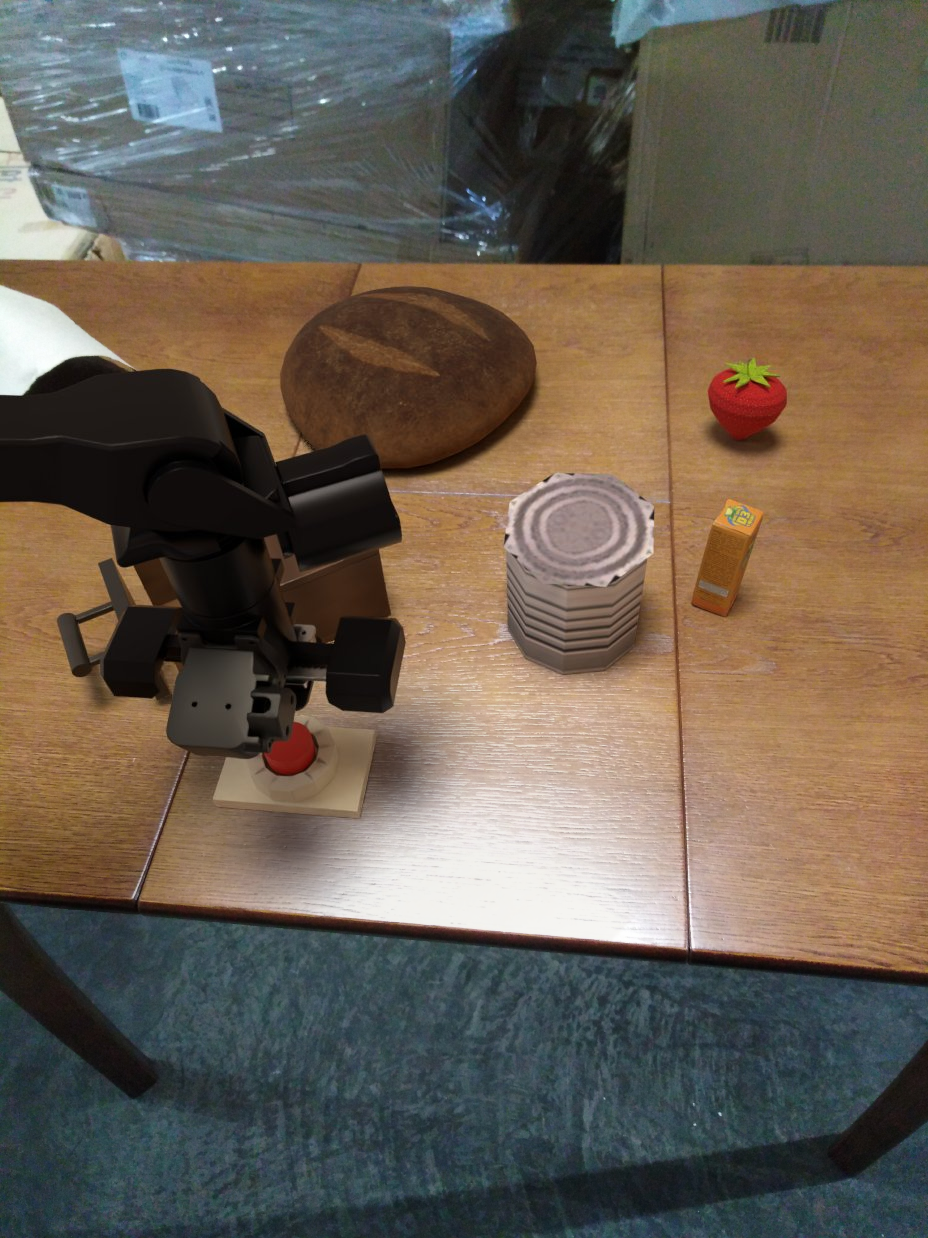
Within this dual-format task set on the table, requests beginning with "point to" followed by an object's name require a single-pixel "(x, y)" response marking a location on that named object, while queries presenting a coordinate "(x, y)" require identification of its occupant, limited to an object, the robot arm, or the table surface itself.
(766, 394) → the strawberry
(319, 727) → the control block
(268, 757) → the button
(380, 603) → the brown wooden drawer box
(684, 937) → the table surface
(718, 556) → the supplement box
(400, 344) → the bread
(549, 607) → the can
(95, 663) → the brown drawer
